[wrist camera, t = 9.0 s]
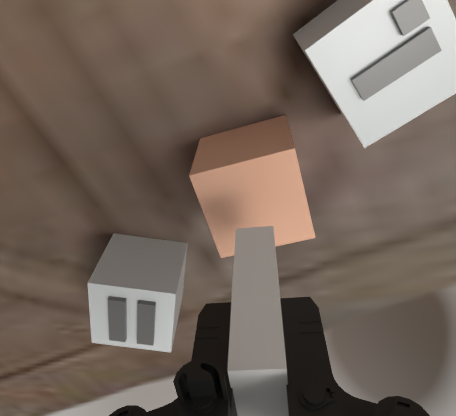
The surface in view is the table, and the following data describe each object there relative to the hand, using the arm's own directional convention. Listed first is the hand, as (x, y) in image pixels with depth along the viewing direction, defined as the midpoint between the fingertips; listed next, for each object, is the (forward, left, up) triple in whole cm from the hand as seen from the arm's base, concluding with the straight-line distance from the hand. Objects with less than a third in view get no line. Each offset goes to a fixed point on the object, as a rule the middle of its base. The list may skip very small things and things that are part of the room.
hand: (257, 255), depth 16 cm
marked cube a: (-8, -7, -9) cm, 14 cm away
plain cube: (0, 0, -9) cm, 9 cm away
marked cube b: (+6, +6, -9) cm, 12 cm away
